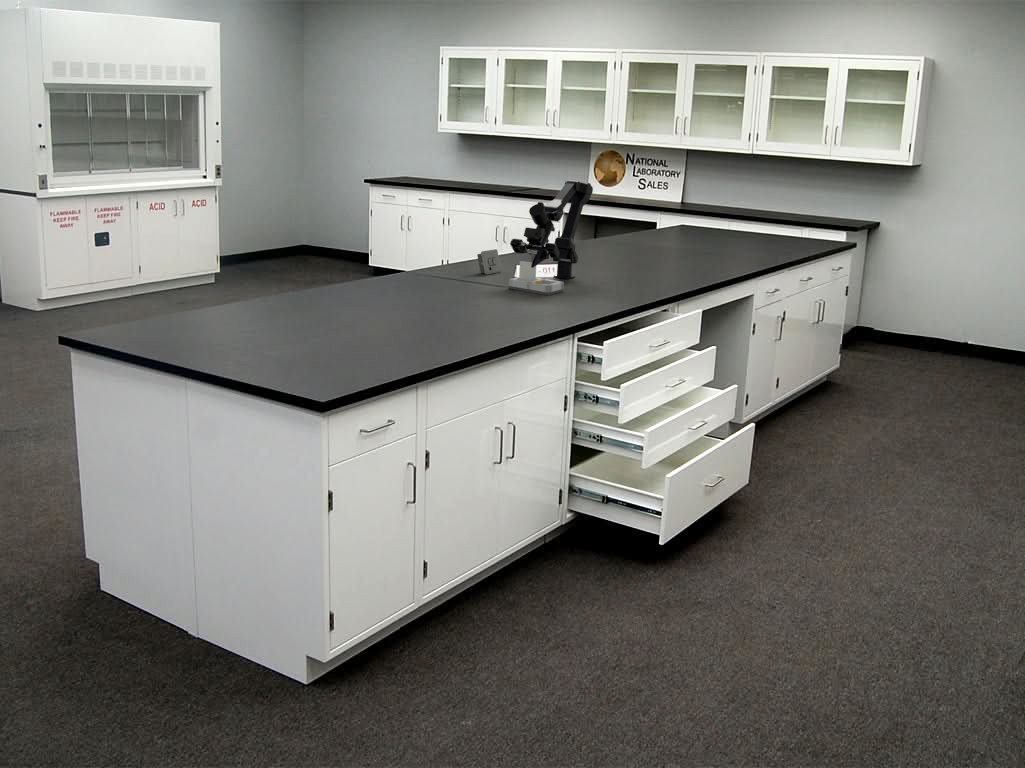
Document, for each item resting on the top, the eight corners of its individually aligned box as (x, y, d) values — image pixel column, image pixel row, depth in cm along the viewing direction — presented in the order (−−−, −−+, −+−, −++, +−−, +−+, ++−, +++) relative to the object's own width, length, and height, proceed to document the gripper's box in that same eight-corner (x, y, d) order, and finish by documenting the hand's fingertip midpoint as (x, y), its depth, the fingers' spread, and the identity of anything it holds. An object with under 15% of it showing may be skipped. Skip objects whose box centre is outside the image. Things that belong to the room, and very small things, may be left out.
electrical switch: (486, 275, 400) (485, 251, 398) (476, 274, 403) (475, 251, 401) (501, 272, 407) (500, 249, 405) (491, 271, 410) (490, 248, 408)
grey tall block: (525, 281, 379) (526, 252, 376) (535, 283, 377) (536, 253, 374) (519, 283, 375) (520, 254, 372) (529, 285, 373) (530, 255, 370)
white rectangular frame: (524, 284, 383) (524, 273, 382) (563, 291, 374) (564, 279, 373) (508, 288, 375) (508, 277, 374) (548, 295, 366) (549, 283, 364)
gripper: (513, 216, 377) (497, 249, 371) (557, 221, 368) (541, 255, 362) (523, 235, 386) (507, 268, 380) (566, 241, 377) (551, 274, 371)
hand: (526, 266), depth 373 cm, fingers closed on grey tall block, 4 cm apart
